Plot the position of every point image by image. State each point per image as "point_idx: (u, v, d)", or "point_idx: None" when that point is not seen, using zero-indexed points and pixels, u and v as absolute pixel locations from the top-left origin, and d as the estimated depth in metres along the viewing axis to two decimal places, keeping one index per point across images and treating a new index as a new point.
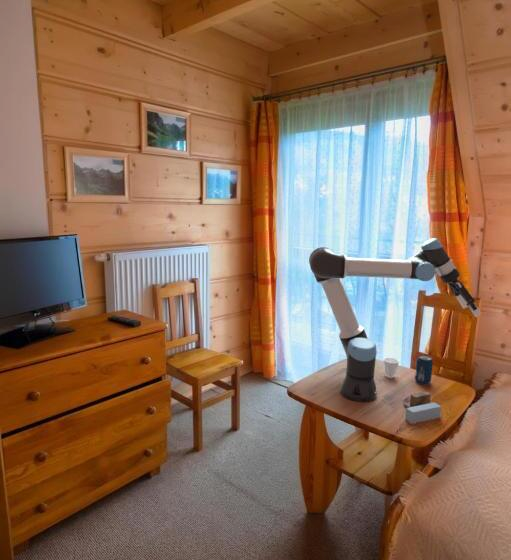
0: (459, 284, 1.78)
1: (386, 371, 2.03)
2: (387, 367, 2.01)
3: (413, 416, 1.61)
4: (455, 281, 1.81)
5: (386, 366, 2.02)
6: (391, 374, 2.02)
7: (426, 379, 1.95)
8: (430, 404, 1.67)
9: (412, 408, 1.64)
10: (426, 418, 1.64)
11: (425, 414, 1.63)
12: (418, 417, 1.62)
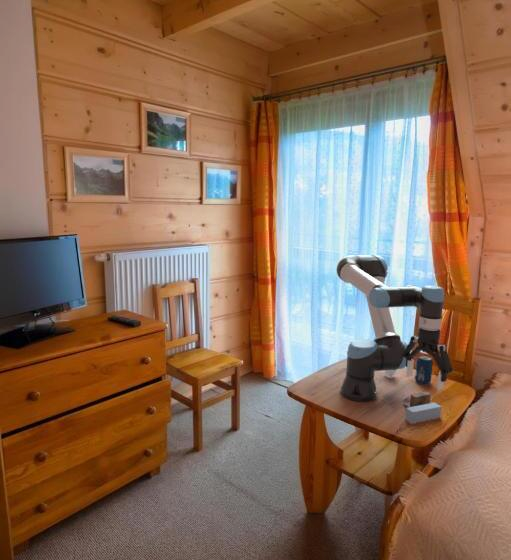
0: None
1: (386, 371, 2.03)
2: None
3: (413, 416, 1.61)
4: None
5: None
6: (391, 374, 2.02)
7: (426, 379, 1.95)
8: (430, 404, 1.67)
9: (412, 408, 1.64)
10: (426, 418, 1.64)
11: (425, 414, 1.63)
12: (418, 417, 1.62)
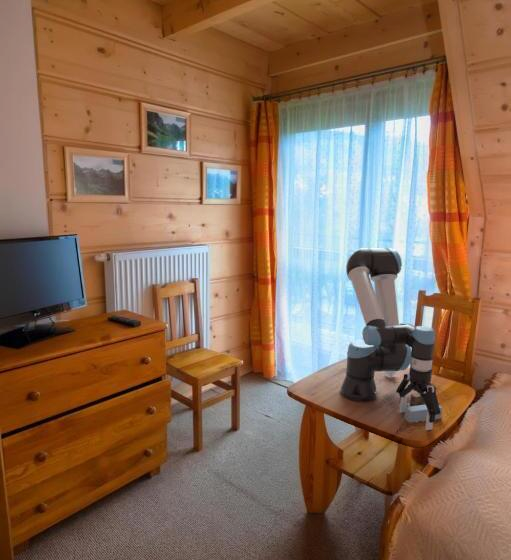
0: None
1: (386, 371, 2.03)
2: None
3: (412, 416, 1.62)
4: None
5: None
6: (391, 374, 2.02)
7: None
8: None
9: (411, 407, 1.64)
10: None
11: (425, 414, 1.63)
12: (417, 417, 1.63)
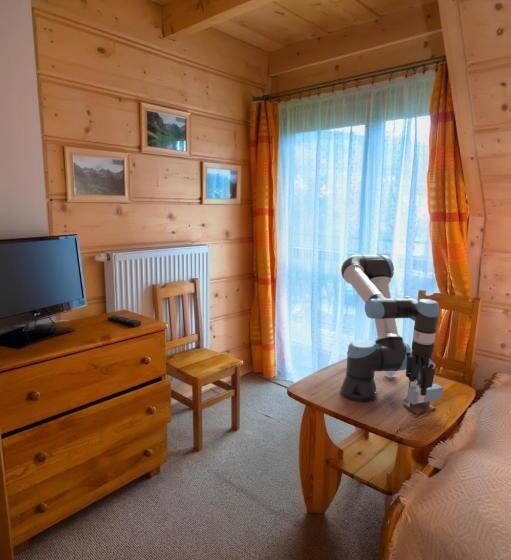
0: None
1: (386, 371, 2.03)
2: None
3: (415, 396, 1.60)
4: None
5: None
6: (391, 374, 2.02)
7: None
8: None
9: (414, 388, 1.62)
10: (427, 398, 1.63)
11: (427, 394, 1.62)
12: None
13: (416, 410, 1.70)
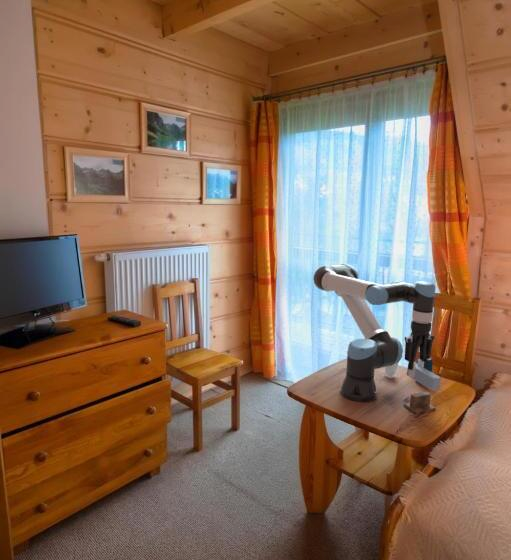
0: None
1: (386, 371, 2.03)
2: (387, 367, 2.01)
3: None
4: None
5: (386, 366, 2.02)
6: (391, 374, 2.02)
7: None
8: (433, 374, 1.66)
9: (416, 364, 1.75)
10: (419, 379, 1.70)
11: (418, 374, 1.70)
12: None
13: (416, 410, 1.70)
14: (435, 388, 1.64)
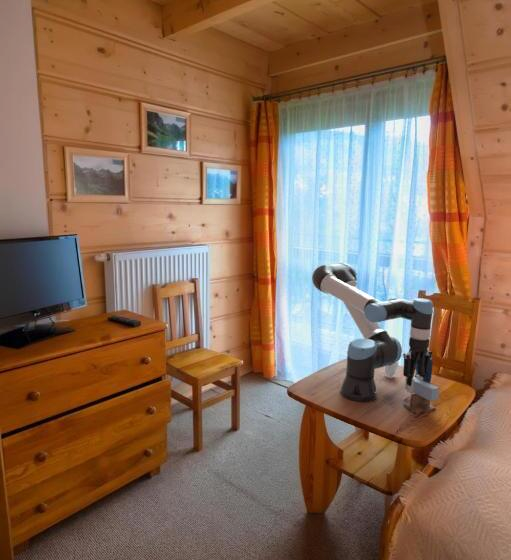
0: None
1: (386, 371, 2.03)
2: (387, 367, 2.01)
3: (406, 382, 1.77)
4: None
5: (386, 366, 2.02)
6: (391, 374, 2.02)
7: (426, 379, 1.95)
8: (431, 385, 1.69)
9: (414, 377, 1.77)
10: (418, 392, 1.72)
11: (417, 387, 1.72)
12: None
13: (416, 410, 1.70)
14: (434, 398, 1.66)
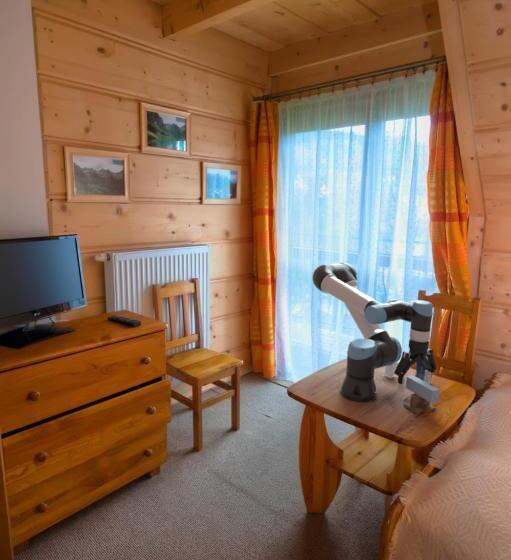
0: None
1: (386, 371, 2.03)
2: (387, 367, 2.01)
3: (407, 381, 1.77)
4: None
5: (386, 366, 2.02)
6: (391, 374, 2.02)
7: None
8: (431, 386, 1.68)
9: (414, 377, 1.76)
10: (418, 392, 1.72)
11: (417, 387, 1.72)
12: (411, 386, 1.75)
13: (416, 410, 1.70)
14: (434, 400, 1.66)
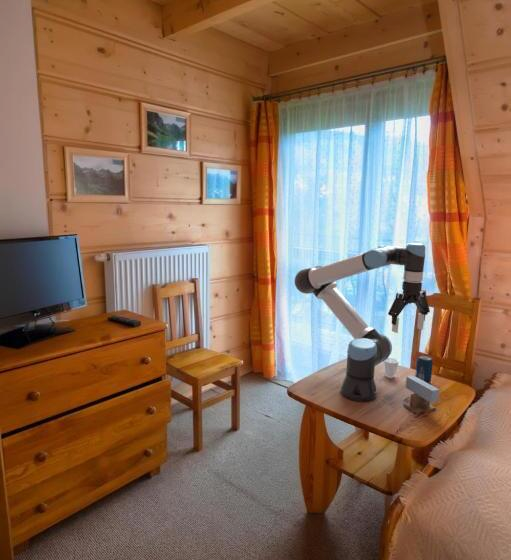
0: None
1: (386, 371, 2.03)
2: (387, 367, 2.01)
3: (407, 381, 1.77)
4: None
5: (386, 366, 2.02)
6: (391, 374, 2.02)
7: (426, 379, 1.95)
8: (431, 386, 1.68)
9: (414, 377, 1.76)
10: (418, 392, 1.72)
11: (417, 387, 1.72)
12: (411, 386, 1.75)
13: (416, 410, 1.70)
14: (434, 400, 1.66)
